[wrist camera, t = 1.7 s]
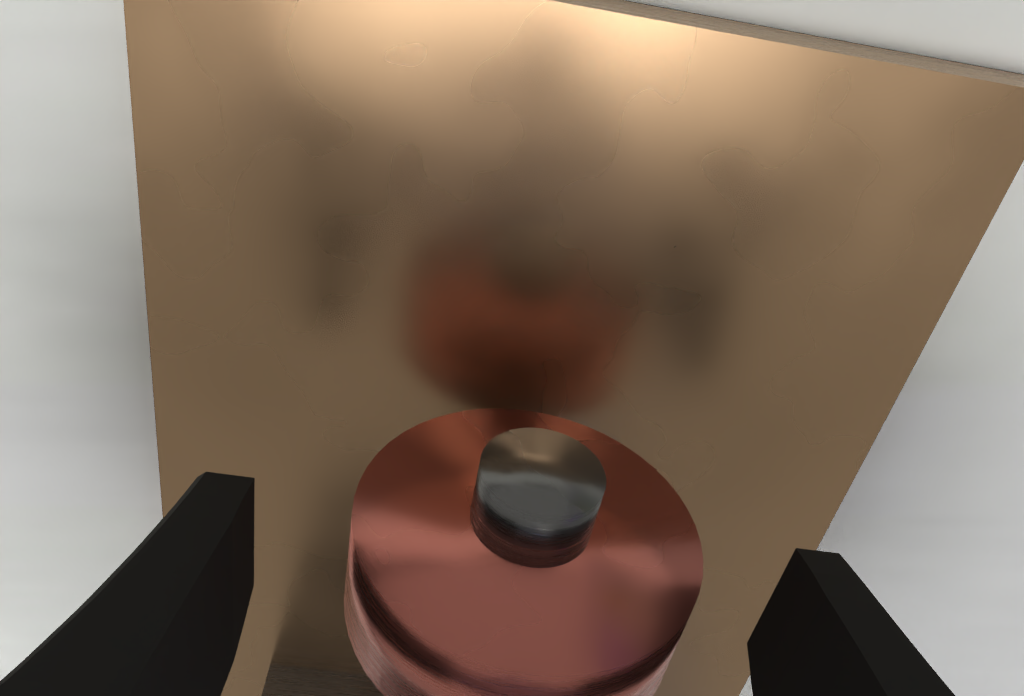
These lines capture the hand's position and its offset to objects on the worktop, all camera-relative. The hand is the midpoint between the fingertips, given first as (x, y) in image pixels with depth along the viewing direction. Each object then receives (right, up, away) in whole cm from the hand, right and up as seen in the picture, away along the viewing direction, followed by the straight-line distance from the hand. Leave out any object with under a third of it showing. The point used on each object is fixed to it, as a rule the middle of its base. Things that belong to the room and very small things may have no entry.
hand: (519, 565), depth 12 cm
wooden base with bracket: (0, 0, +5) cm, 5 cm away
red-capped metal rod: (-1, -2, +5) cm, 5 cm away
